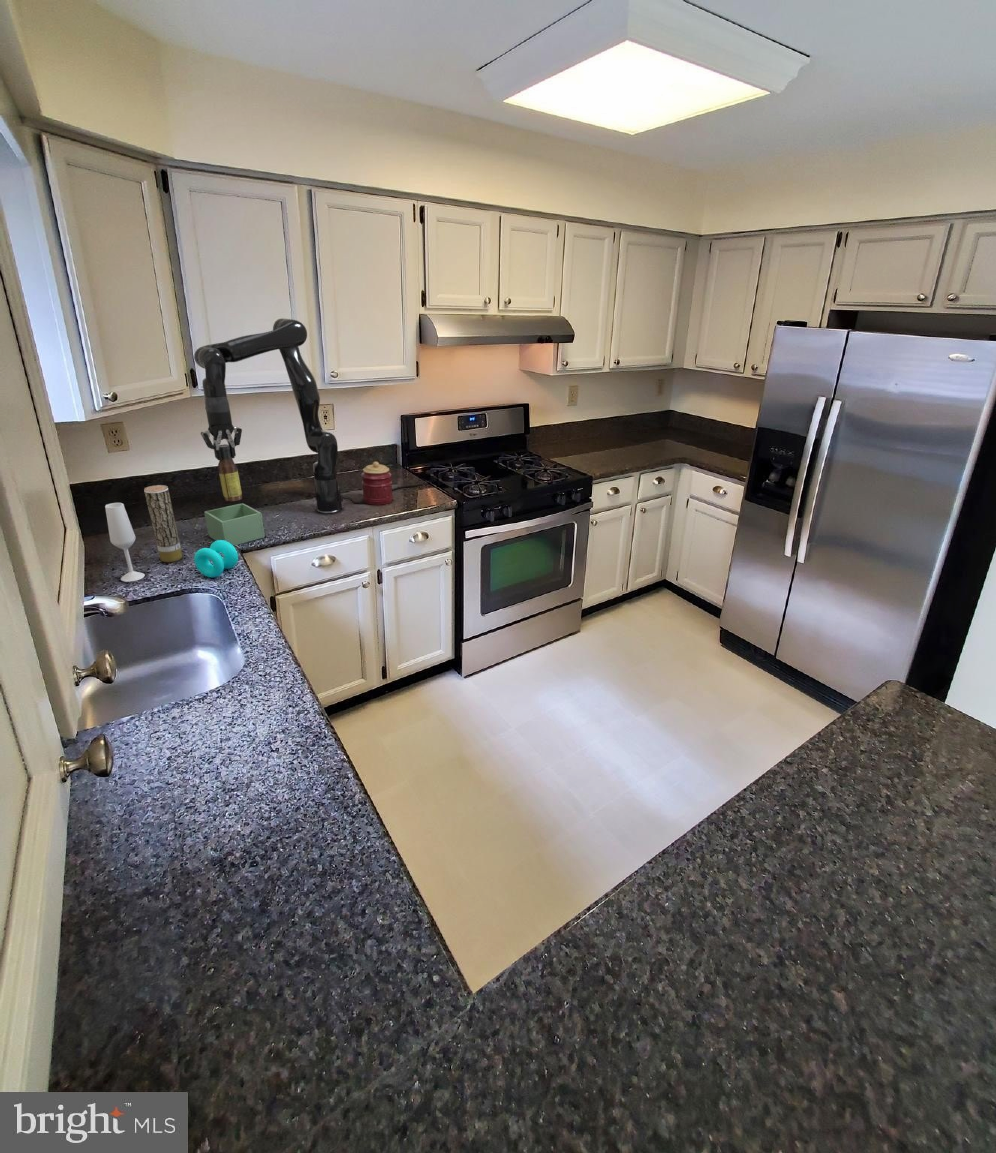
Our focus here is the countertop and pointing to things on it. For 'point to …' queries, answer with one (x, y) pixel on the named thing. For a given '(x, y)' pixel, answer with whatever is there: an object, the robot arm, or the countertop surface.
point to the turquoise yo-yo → (216, 558)
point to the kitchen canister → (377, 484)
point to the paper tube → (163, 523)
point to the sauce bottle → (229, 475)
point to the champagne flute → (122, 536)
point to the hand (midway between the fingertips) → (226, 458)
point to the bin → (235, 524)
